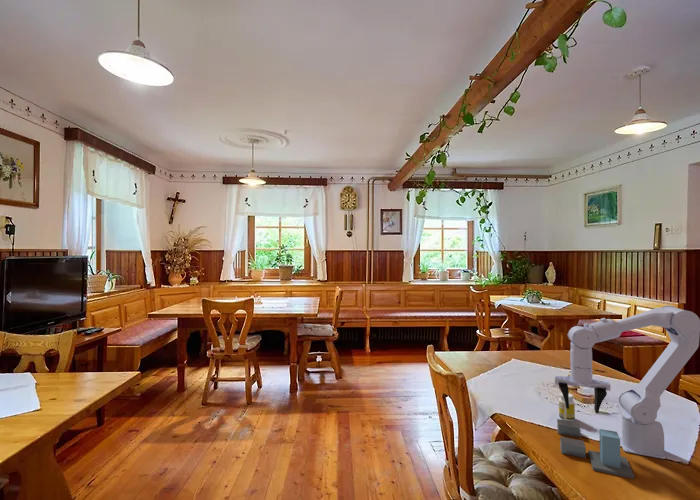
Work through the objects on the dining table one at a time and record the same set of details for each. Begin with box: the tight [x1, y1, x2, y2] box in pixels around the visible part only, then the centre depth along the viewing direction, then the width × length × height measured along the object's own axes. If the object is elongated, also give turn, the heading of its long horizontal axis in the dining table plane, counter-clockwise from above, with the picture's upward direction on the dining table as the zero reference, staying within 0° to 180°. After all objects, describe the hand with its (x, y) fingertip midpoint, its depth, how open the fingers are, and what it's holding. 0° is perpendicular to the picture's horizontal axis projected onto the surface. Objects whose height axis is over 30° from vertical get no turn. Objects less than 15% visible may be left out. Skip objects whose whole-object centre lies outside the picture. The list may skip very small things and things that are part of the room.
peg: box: [599, 428, 621, 468], centre depth 99 cm, size 4×4×8 cm
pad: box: [587, 449, 635, 480], centre depth 99 cm, size 9×9×1 cm
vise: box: [556, 418, 587, 459], centre depth 112 cm, size 6×19×3 cm, turn 154°
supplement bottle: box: [558, 392, 576, 422], centre depth 126 cm, size 5×5×8 cm
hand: (581, 409), depth 111 cm, fingers open, 7 cm apart
